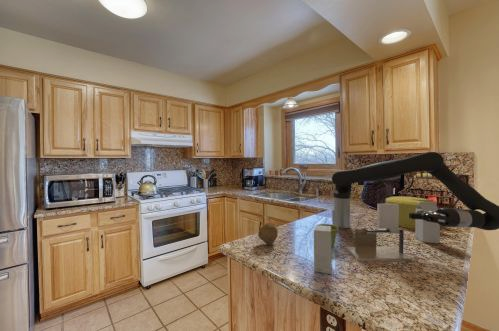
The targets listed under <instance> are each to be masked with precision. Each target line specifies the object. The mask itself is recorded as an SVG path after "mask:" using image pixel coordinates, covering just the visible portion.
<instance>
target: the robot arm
mask: <svg viewBox="0 0 499 331" xmlns="http://www.w3.org/2000/svg"><path fill="white" fill-rule="evenodd" d="M444 159H445V158H444V156H443V155H442V154H441V153H439V152H435V151H428V152H423V153H420V154H416V155H414V156H410V157H406V158H401V159H399V158H398V159H392V160H386V161H381V162H377V163H372V164H368V165H366V166H365V165H364V166H361V167H359V168H355V169H348V170H342V169H341V170H338V171H336V172H334V174H332V176H331V182H332V183H333V185H334V187H335V188H334V192H333V204H332V205H333V209H332V212H331V214H332V217H331V218H332V220H331V222H332V223H331V225H334V226H337V227H338V228H339V229H349V228H350V227H351V195H352V188H353V187H352V184H355V183H361V182H375V181H382V180H390V179H394V178H397V177H399V176H403V175H407V174H411V173H416V172H418V173H419V172H427V173H428V174H429V175H430V176H432V177H434V178H435V179H437V180H438V181H439V182H440V183H441V184H443V185H444V187H446V188H447V189H448V191H450V192H451V193H452V194H453V195H454V196H455V198H456V199H458V200H459V201H460V202H461V203H462V204H463V205H464V206H465V207H466V208H468V209H461V208H450V207H449V208H448V207H440V208H438V210H437V211H436V212H434V211H429V212H424V211H423V210H421V211H417V213H409V218H411V219H420V220H425V221H427V222H434V223H438V224H439V225H440V227H443V228H444V227H446V228H476V229H480V230H483V231H495V230H499V205H497V204H496V203H495V202H493V201H490V200H489V199H487V198H485V197H484V196H483V195H482V194H481V193H480V192H478V191H477V189H475V188H474V187H472V186H471V185H470V184H469V183H468V182H466V181H465V180H463V179H462V178H460V177H459V176H457V175H456V174H455V173H454V172H453V171H452V170H451V169H450V168H449V167H448V165H447V164H446V163H445V160H444ZM478 210H480V211H482V212H484V213H482V212H480V211H478Z"/></svg>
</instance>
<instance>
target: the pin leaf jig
mask: <svg viewBox="0 0 499 331" xmlns="http://www.w3.org/2000/svg"><path fill="white" fill-rule="evenodd" d="M354 232H355V235H354V236H355V237H354V238H355V240H354V241H355V242H354V243H355V244H354V245H355V246H345V249H346V250H347V252H348V253H350V254H351V255H352V256H353V257H354V258H355V259H356V260H357V261H358V262H413V260H414V259H413V258H412V257H411V256H409V255H408V254H406V253H404V242H405V240H404V236H405V235H404V234H405V232H404V229H400V232H399V233H398V234H399V236H398V238H399V241H398V248H397V247H395V246H377V241H378V240H377V233H378V234H379V233H382V234H383V233H384V234H385V233H387V234H391V233H390V230H386V229H367V228H355V229H354Z"/></svg>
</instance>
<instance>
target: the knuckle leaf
mask: <svg viewBox="0 0 499 331" xmlns="http://www.w3.org/2000/svg"><path fill="white" fill-rule="evenodd" d="M376 204H377V205H376V207H377V208H376V228H377V229H385V230H390V233H389V234H399V232H400V230H401V229H400V228H399V227H400V226H399V204H386V203H376Z"/></svg>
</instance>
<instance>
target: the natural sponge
mask: <svg viewBox="0 0 499 331" xmlns="http://www.w3.org/2000/svg"><path fill="white" fill-rule="evenodd" d="M278 233H279V231H278V227H276V226H275V225H274V224H272V223H268V222H267V223H264V224H263V225H262V226H261V227H260V229H259V231H258V233H257V235H258V238H259V239H260V240H261V241H263V242H264V243H265V244H266V245H268V246H271V245H273V244H274V243H275V241H276V240H277V238H278Z"/></svg>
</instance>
